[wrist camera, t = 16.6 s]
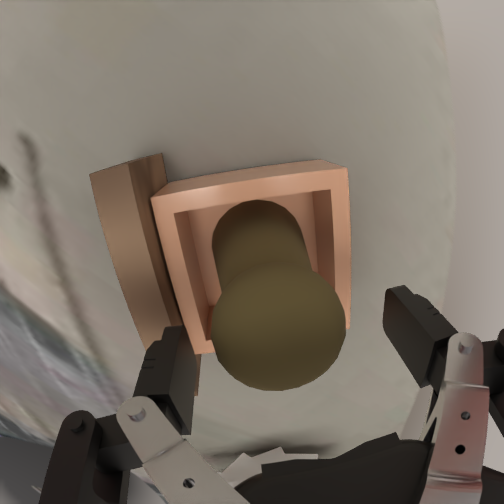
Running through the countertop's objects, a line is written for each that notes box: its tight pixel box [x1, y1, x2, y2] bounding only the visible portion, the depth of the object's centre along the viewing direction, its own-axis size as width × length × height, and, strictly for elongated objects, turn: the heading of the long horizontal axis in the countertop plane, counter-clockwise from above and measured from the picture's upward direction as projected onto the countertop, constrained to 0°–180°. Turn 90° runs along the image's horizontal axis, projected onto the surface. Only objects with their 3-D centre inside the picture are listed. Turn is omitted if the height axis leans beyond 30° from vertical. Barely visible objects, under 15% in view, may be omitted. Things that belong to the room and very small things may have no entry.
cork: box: [210, 199, 346, 391], centre depth 15 cm, size 6×6×11 cm
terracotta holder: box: [151, 159, 351, 354], centre depth 19 cm, size 10×10×5 cm
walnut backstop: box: [89, 153, 201, 396], centre depth 18 cm, size 14×2×7 cm, turn 8°
